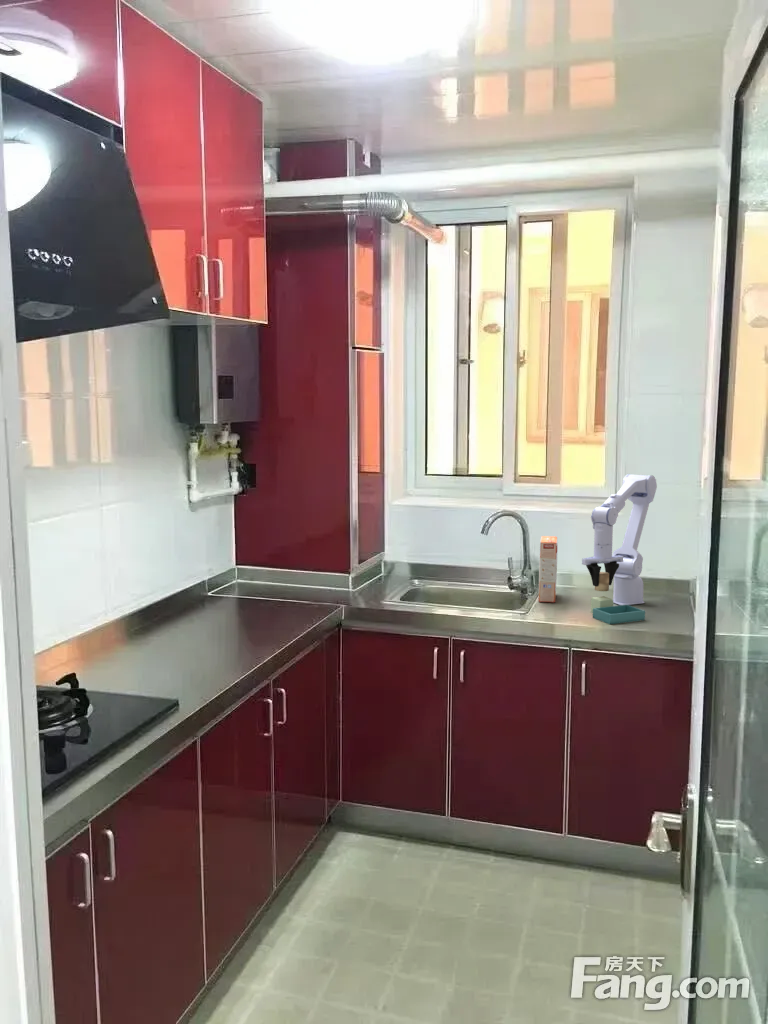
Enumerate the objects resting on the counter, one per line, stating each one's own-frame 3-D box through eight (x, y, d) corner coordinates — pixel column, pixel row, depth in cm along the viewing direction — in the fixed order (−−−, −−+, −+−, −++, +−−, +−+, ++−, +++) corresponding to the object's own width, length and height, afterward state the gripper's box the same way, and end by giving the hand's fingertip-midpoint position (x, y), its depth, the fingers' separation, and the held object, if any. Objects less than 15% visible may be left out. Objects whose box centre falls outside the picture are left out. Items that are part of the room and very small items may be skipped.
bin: (626, 613, 281) (626, 604, 281) (644, 620, 273) (645, 610, 272) (592, 617, 276) (592, 608, 276) (610, 624, 268) (610, 614, 267)
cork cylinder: (603, 588, 287) (603, 571, 286) (611, 590, 283) (611, 573, 282) (592, 589, 286) (592, 572, 285) (600, 591, 281) (600, 574, 281)
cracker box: (556, 603, 296) (557, 542, 293) (538, 602, 297) (539, 541, 295) (556, 594, 310) (557, 535, 307) (539, 593, 311) (540, 535, 308)
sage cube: (603, 611, 285) (603, 596, 284) (612, 614, 280) (613, 599, 280) (590, 612, 283) (590, 597, 282) (599, 616, 278) (600, 600, 278)
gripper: (591, 547, 276) (590, 589, 278) (629, 544, 281) (628, 585, 283) (578, 543, 283) (577, 585, 284) (616, 541, 288) (615, 581, 289)
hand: (602, 585), depth 284 cm, fingers closed on cork cylinder, 4 cm apart
